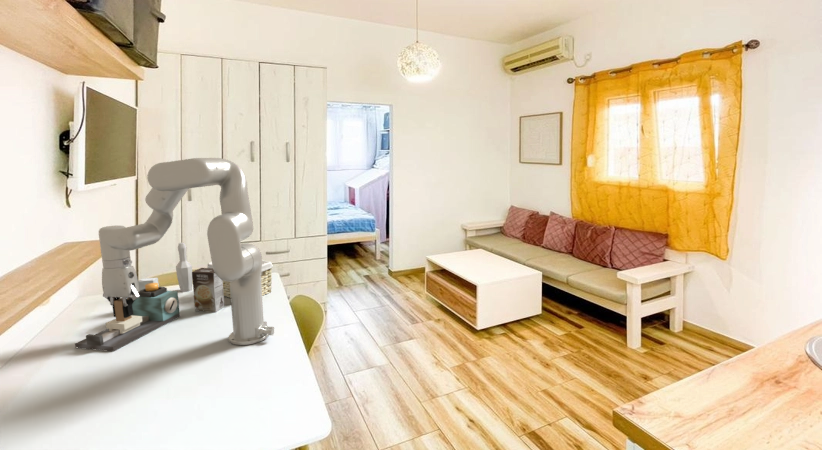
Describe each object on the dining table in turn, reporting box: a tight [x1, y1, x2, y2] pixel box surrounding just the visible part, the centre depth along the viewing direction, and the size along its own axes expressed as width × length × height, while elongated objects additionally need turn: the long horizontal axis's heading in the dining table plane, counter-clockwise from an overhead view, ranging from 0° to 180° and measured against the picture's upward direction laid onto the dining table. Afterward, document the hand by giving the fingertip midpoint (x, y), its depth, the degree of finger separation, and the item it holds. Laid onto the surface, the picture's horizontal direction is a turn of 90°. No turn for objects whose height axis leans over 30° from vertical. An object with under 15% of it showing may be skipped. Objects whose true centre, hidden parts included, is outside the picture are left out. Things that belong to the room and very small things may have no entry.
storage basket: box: [206, 259, 274, 299], centre depth 175 cm, size 24×16×15 cm
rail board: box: [74, 286, 181, 352], centre depth 137 cm, size 15×28×12 cm, turn 170°
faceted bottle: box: [175, 242, 193, 293], centre depth 179 cm, size 6×6×22 cm
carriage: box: [105, 297, 142, 334], centre depth 134 cm, size 7×7×10 cm
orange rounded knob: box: [145, 282, 159, 291], centre depth 145 cm, size 4×4×2 cm
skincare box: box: [138, 277, 160, 291], centre depth 158 cm, size 6×4×12 cm
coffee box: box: [192, 267, 225, 313], centre depth 156 cm, size 9×6×16 cm
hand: (123, 315), depth 134 cm, fingers closed on carriage, 3 cm apart
